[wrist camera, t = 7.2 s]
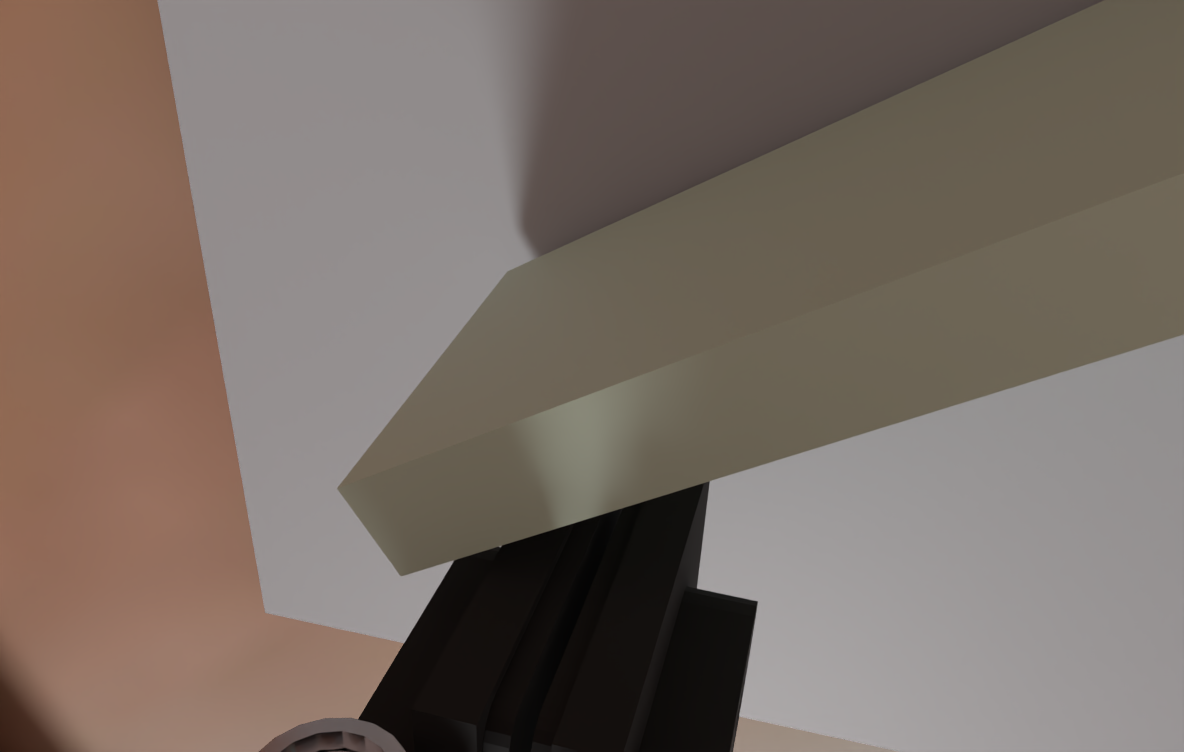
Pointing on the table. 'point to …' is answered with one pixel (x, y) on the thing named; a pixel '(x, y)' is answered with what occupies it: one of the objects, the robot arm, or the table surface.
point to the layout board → (600, 198)
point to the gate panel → (811, 295)
